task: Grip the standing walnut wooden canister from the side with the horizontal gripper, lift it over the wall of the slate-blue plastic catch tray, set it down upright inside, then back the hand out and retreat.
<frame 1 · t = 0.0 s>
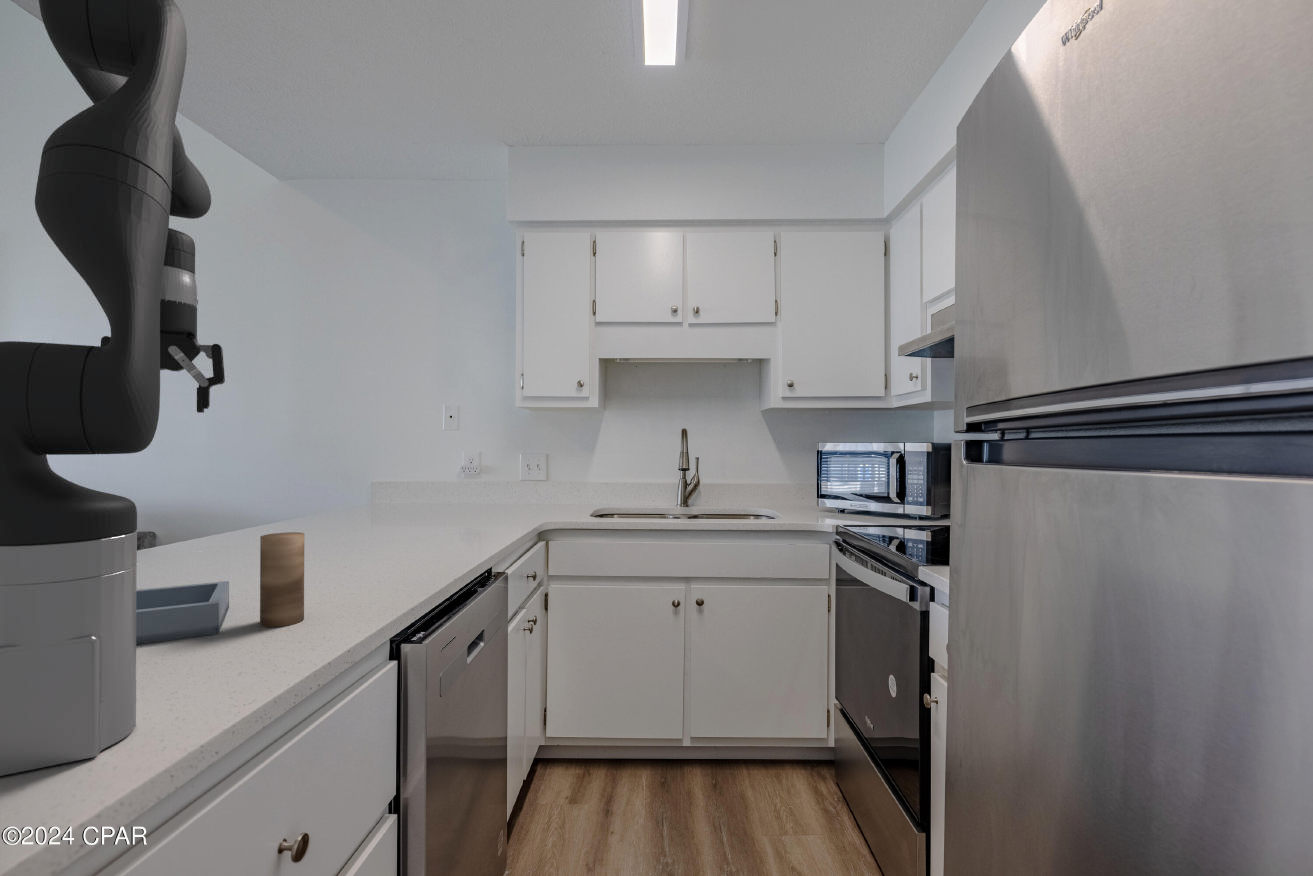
hand: (164, 411, 89), 29 cm above the worktop, tool pointing down, fingers open, 8 cm apart
catch tray: (160, 627, 81), on the worktop
canister: (282, 621, 84), on the worktop
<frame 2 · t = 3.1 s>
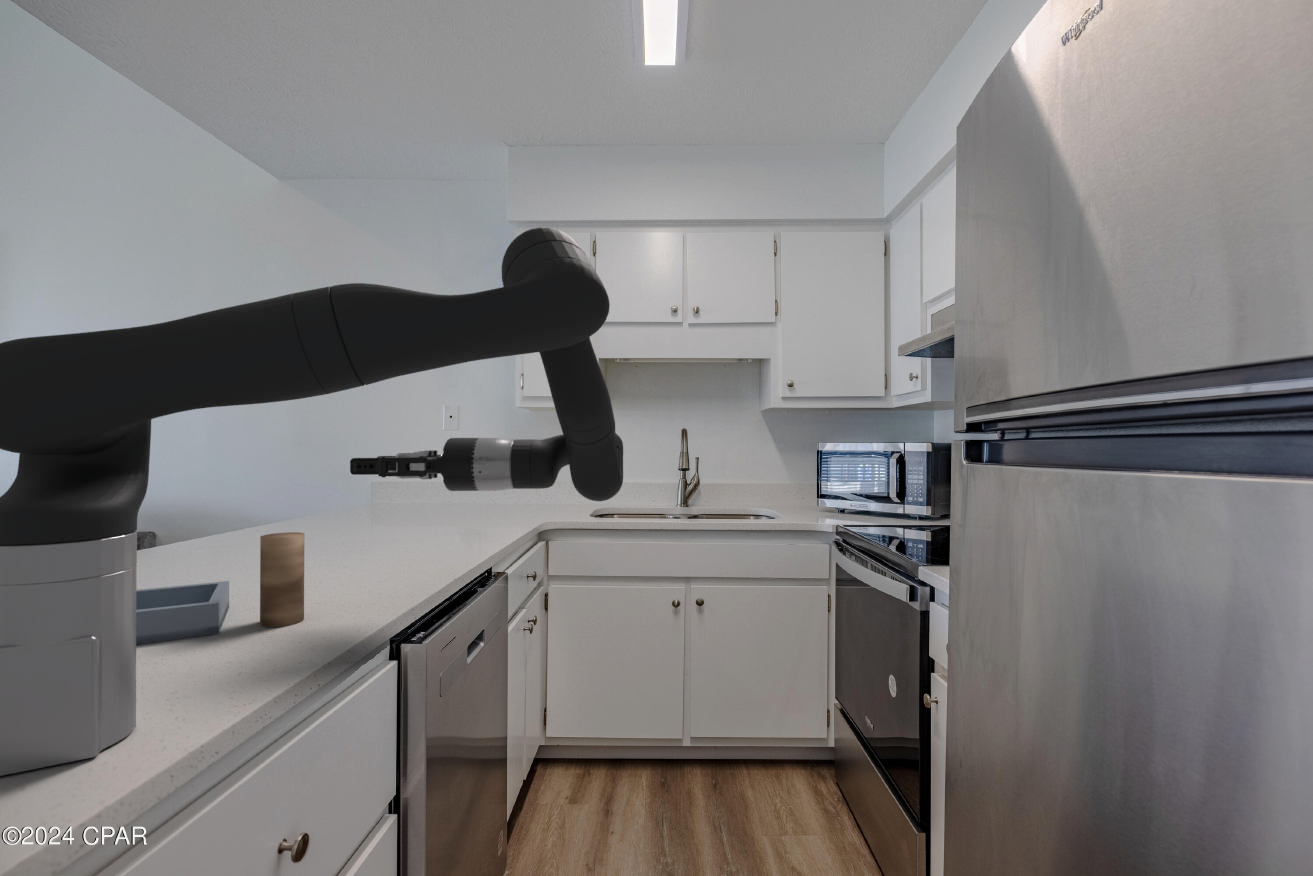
hand: (365, 464, 84), 22 cm above the worktop, tool horizontal, fingers open, 8 cm apart
nothing on the worktop moved.
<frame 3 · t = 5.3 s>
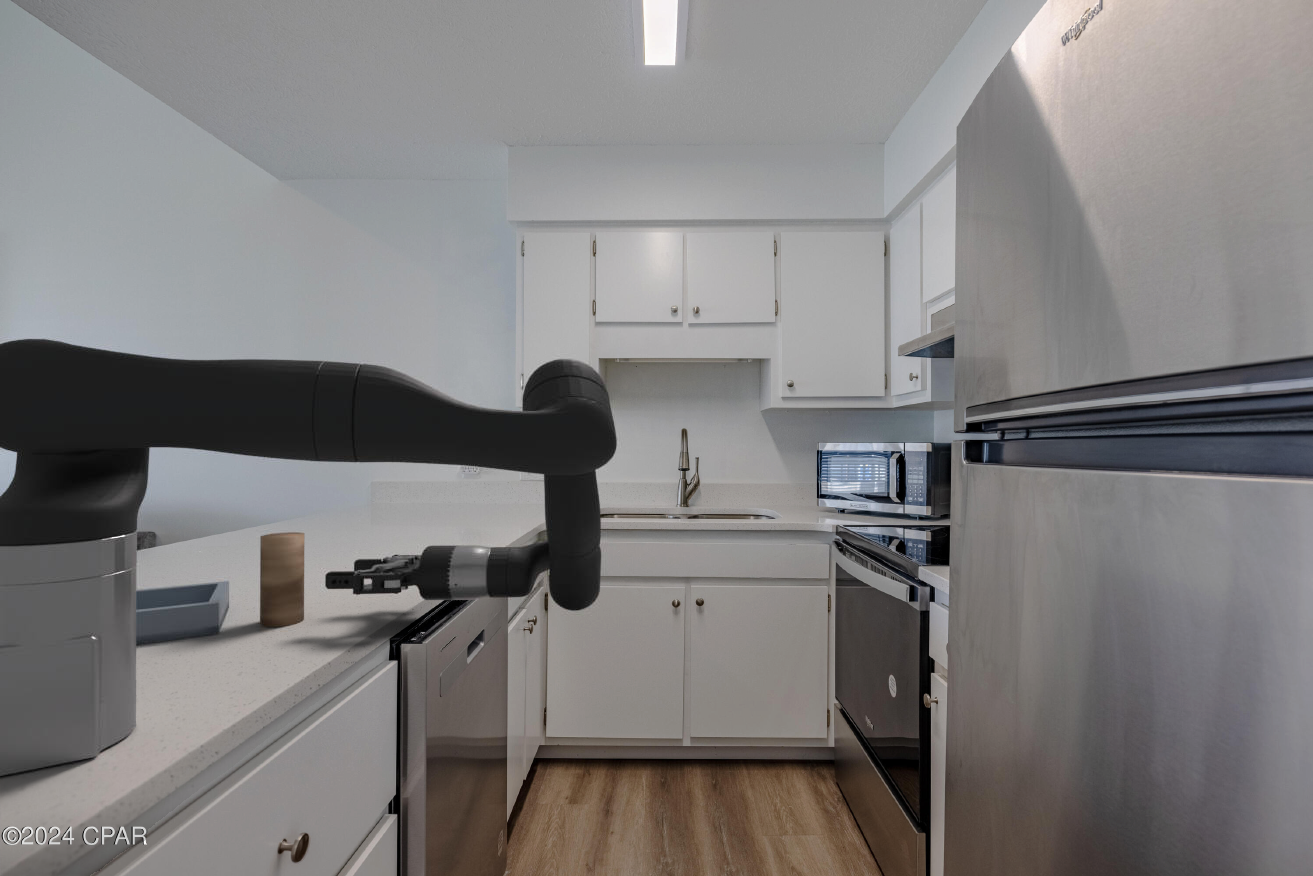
hand: (341, 573, 84), 7 cm above the worktop, tool horizontal, fingers open, 8 cm apart
nothing on the worktop moved.
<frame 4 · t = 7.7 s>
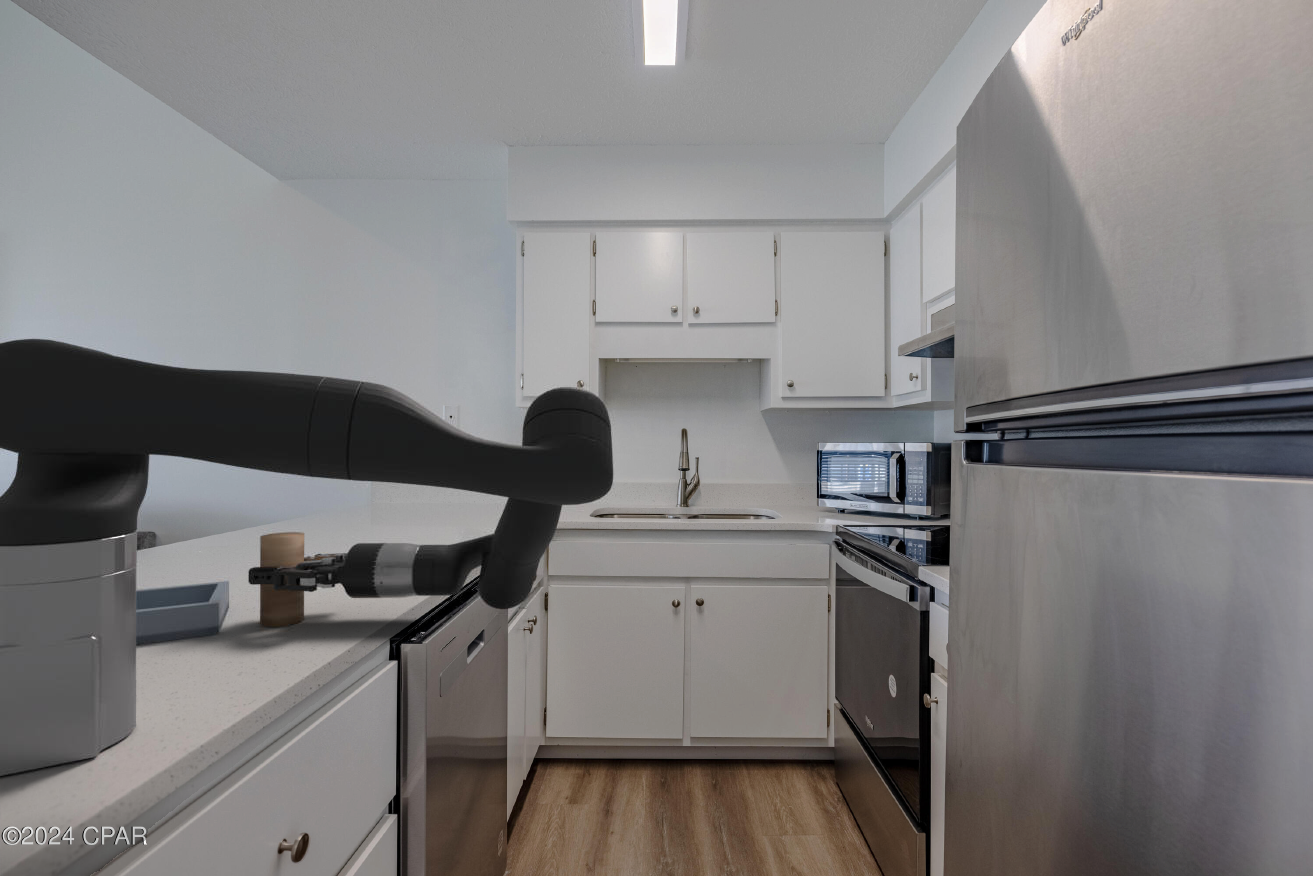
hand: (263, 570, 84), 7 cm above the worktop, tool horizontal, fingers closed on canister, 5 cm apart
canister: (282, 621, 84), on the worktop, touching gripper
everything else where it was.
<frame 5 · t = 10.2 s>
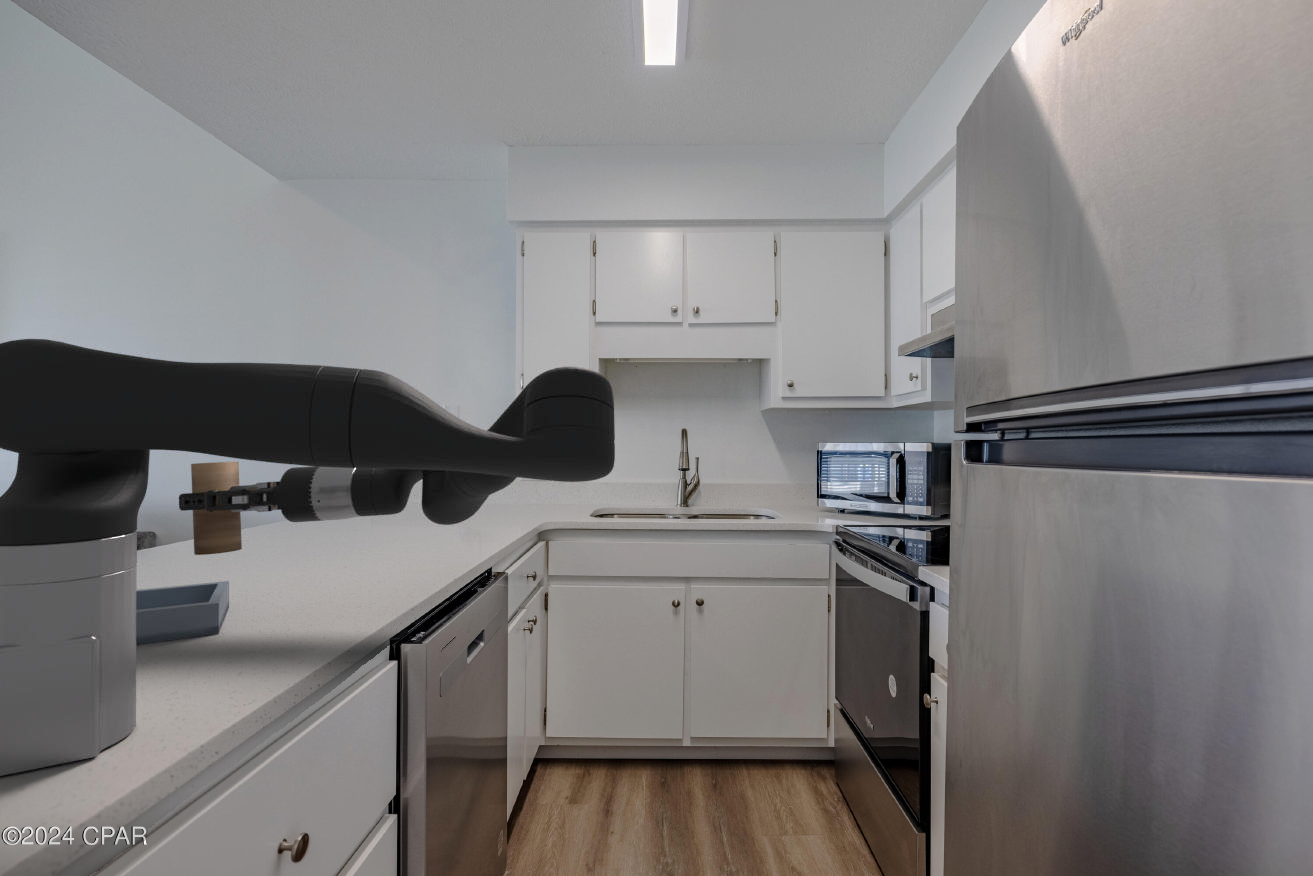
hand: (196, 500, 81), 17 cm above the worktop, tool horizontal, fingers closed on canister, 5 cm apart
canister: (218, 551, 81), point 10 cm above the worktop, touching gripper
everything else where it was.
when the fingers open (9 cm above the worktop, at t = 13.1 s): canister drops 1 cm, resting on catch tray.
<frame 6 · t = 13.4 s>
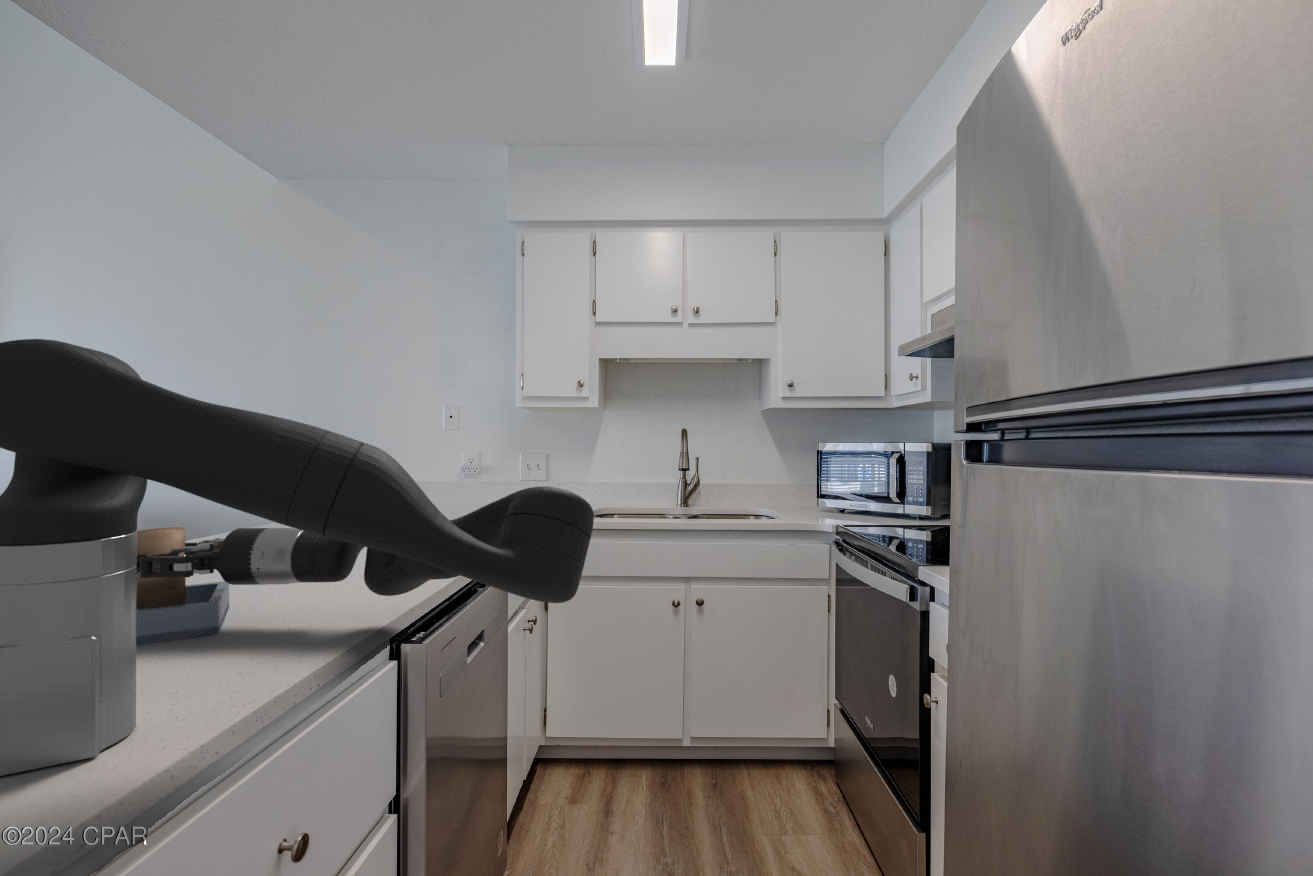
hand: (145, 556, 81), 10 cm above the worktop, tool horizontal, fingers open, 8 cm apart
canister: (161, 619, 81), point 1 cm above the worktop, touching catch tray
everything else where it was.
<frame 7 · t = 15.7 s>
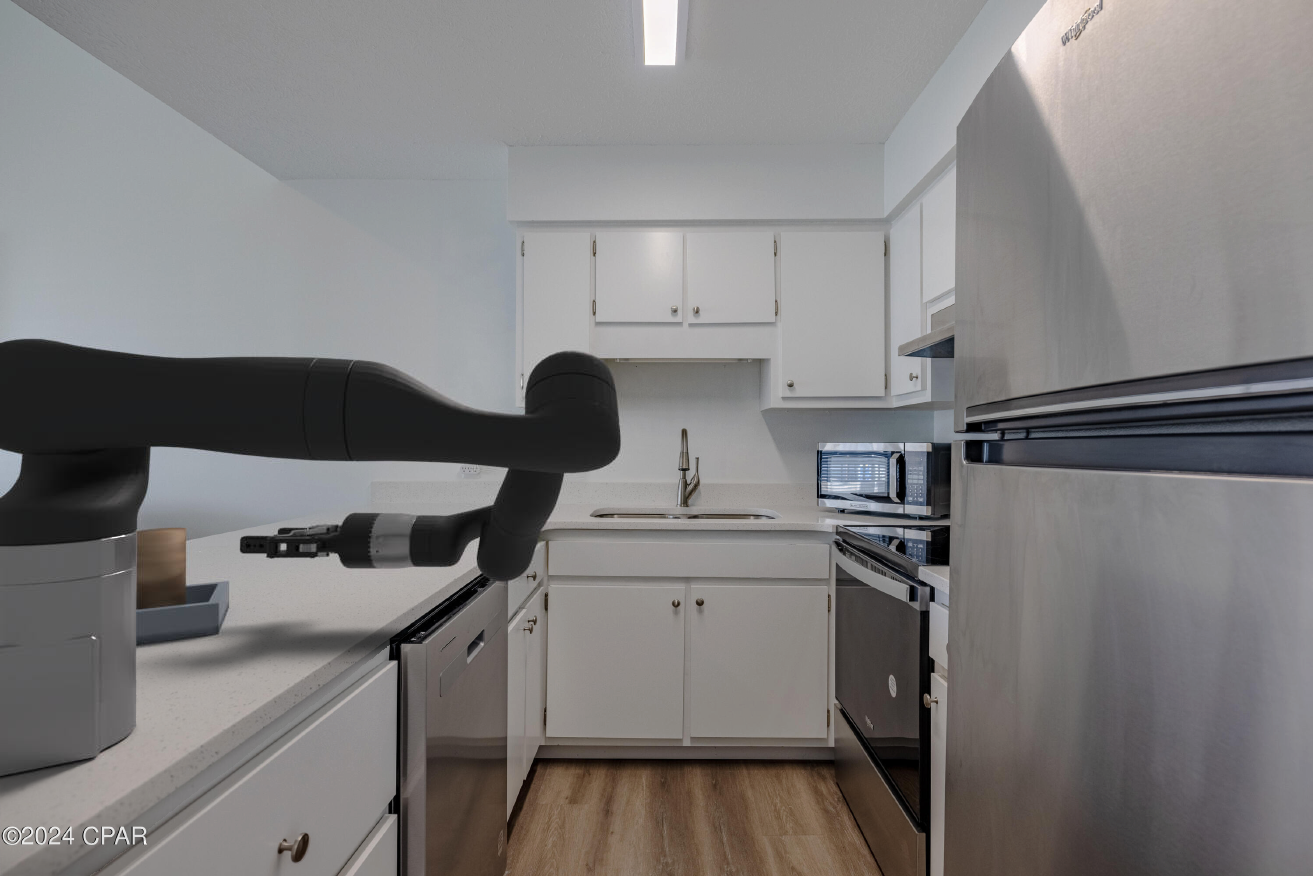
hand: (261, 539, 81), 12 cm above the worktop, tool horizontal, fingers open, 8 cm apart
nothing on the worktop moved.
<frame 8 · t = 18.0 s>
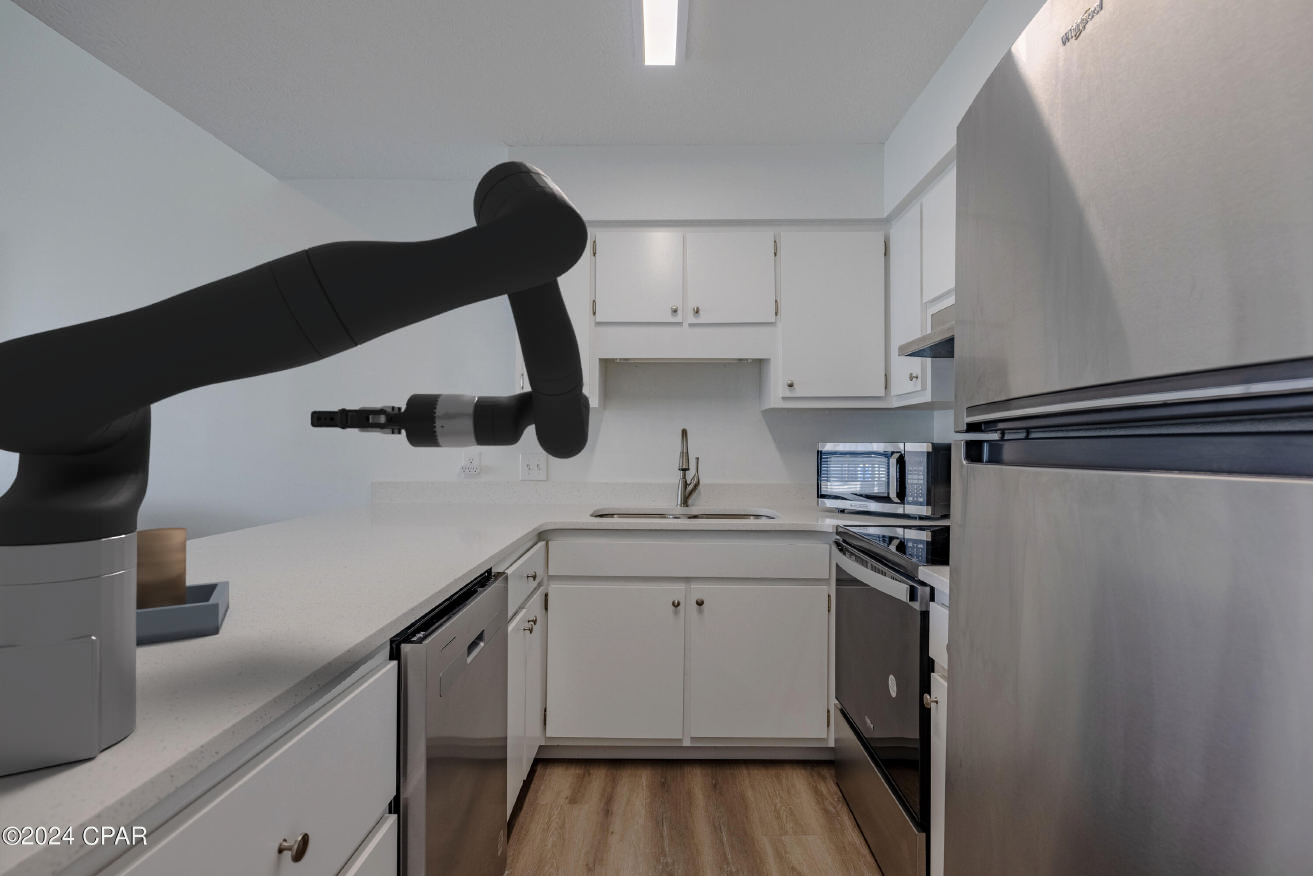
hand: (327, 420, 84), 28 cm above the worktop, tool horizontal, fingers open, 8 cm apart
nothing on the worktop moved.
at the end: canister inside the target area on the catch tray (0.1 cm from its centre), point 1.0 cm above the catch tray's base; canister tilted 0°; the gripper is holding nothing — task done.
